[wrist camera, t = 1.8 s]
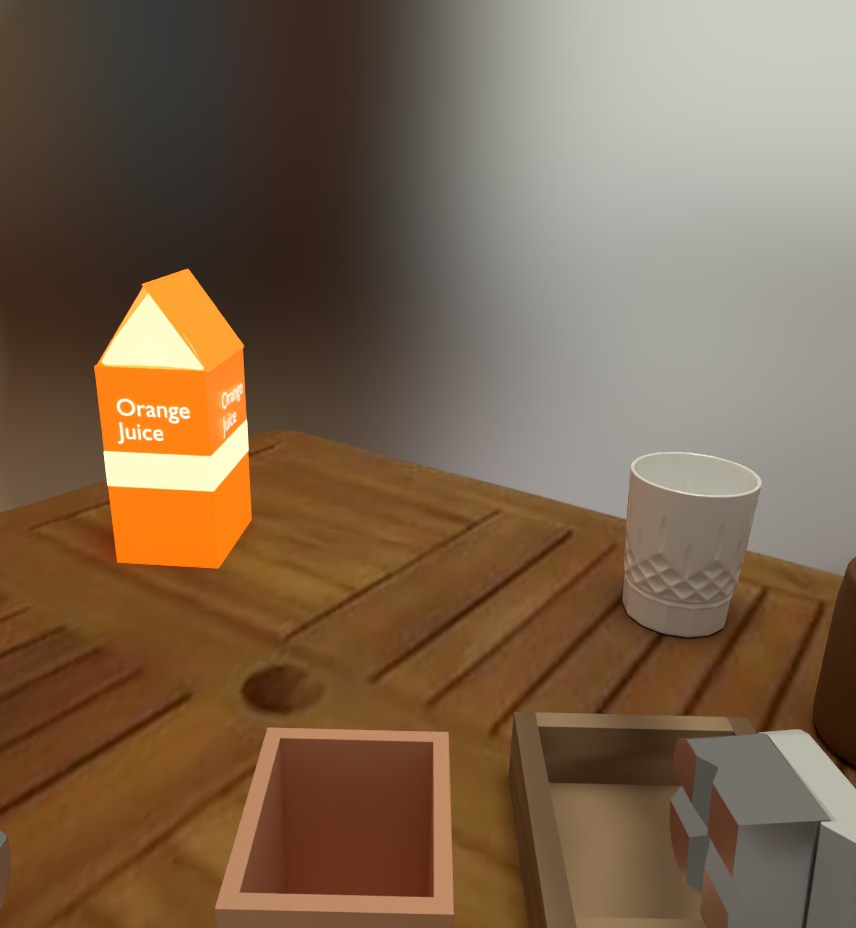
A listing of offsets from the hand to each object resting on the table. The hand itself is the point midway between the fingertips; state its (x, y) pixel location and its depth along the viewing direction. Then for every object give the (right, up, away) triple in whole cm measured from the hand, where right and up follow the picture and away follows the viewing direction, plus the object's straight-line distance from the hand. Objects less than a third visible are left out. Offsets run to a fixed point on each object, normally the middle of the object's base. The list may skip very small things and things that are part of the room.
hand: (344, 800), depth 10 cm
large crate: (+10, -14, +24) cm, 30 cm away
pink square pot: (-2, -15, +17) cm, 23 cm away
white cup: (+17, -6, +45) cm, 48 cm away
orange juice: (-17, -2, +53) cm, 56 cm away
